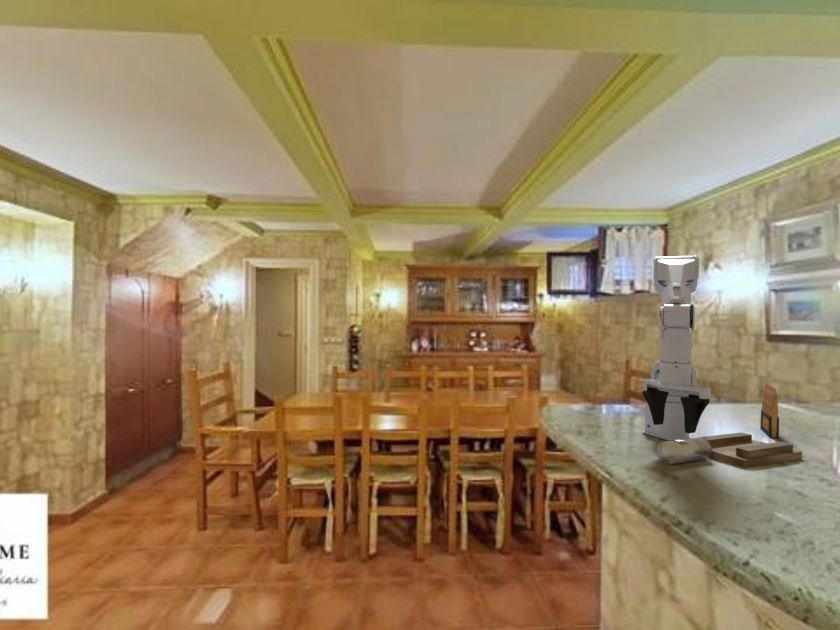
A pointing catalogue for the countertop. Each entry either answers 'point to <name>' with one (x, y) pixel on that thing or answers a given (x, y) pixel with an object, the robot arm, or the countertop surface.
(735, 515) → the countertop surface
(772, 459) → the cradle block
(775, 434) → the ammunition clip
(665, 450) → the steel axle
